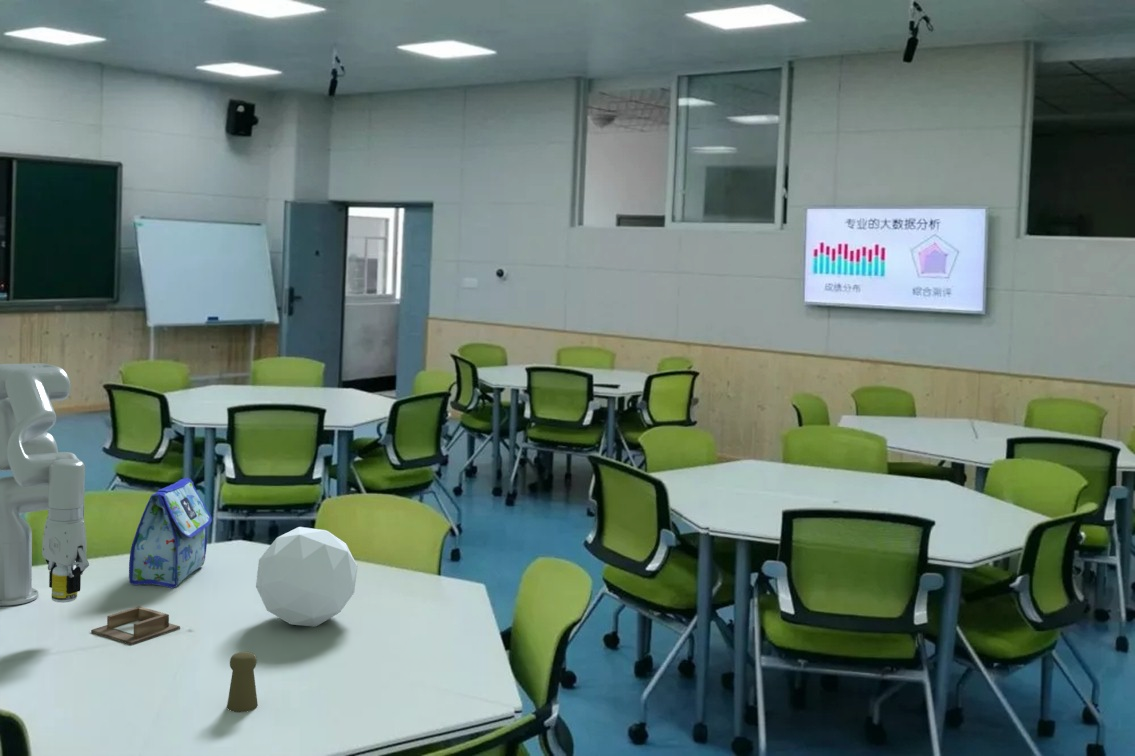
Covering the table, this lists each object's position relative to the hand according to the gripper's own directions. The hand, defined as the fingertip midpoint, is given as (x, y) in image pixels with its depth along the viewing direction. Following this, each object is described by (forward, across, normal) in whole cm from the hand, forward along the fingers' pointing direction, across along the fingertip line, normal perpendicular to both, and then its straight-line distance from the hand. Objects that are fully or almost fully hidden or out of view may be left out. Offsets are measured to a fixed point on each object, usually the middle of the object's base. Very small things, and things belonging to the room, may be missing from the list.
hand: (64, 588), depth 254 cm
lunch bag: (+13, -19, +48) cm, 53 cm away
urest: (+11, +9, +13) cm, 19 cm away
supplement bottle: (+3, 0, 0) cm, 3 cm away
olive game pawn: (+10, +61, -4) cm, 62 cm away
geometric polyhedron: (+11, +36, +42) cm, 56 cm away
